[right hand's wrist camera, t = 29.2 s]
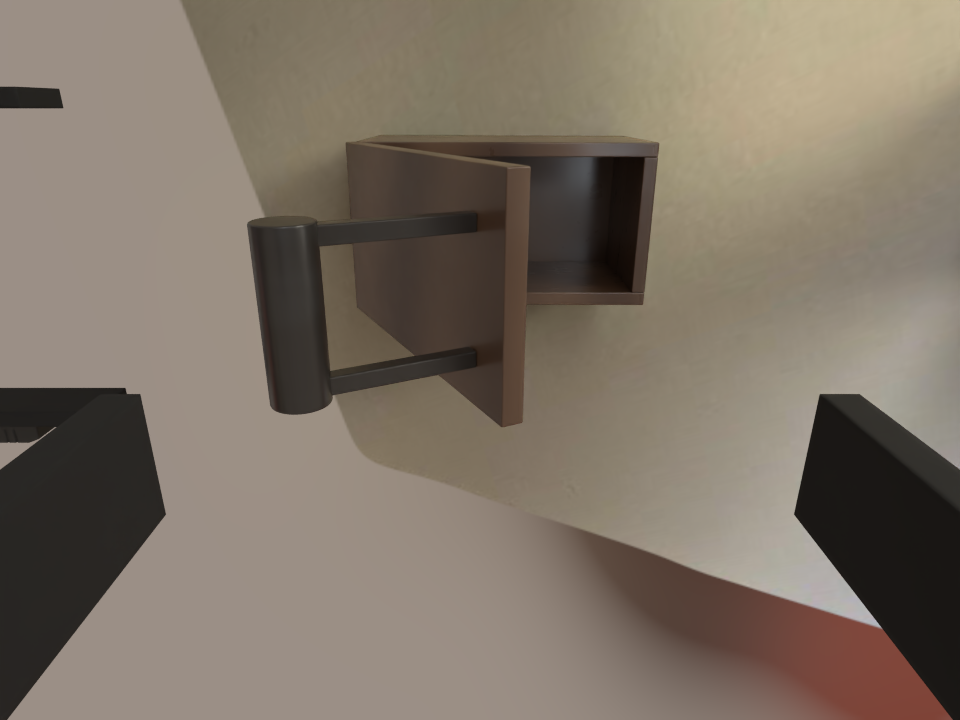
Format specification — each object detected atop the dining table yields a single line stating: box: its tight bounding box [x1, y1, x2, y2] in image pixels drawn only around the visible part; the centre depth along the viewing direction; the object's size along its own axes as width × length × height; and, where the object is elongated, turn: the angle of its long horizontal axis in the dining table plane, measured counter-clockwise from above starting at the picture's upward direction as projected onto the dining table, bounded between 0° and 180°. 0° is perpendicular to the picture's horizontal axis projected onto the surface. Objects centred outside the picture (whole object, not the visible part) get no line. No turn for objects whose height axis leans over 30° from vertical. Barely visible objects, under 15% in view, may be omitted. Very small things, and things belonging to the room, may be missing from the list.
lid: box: [247, 142, 531, 427], centre depth 28 cm, size 18×10×9 cm
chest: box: [357, 135, 659, 305], centre depth 42 cm, size 17×10×9 cm, turn 90°
